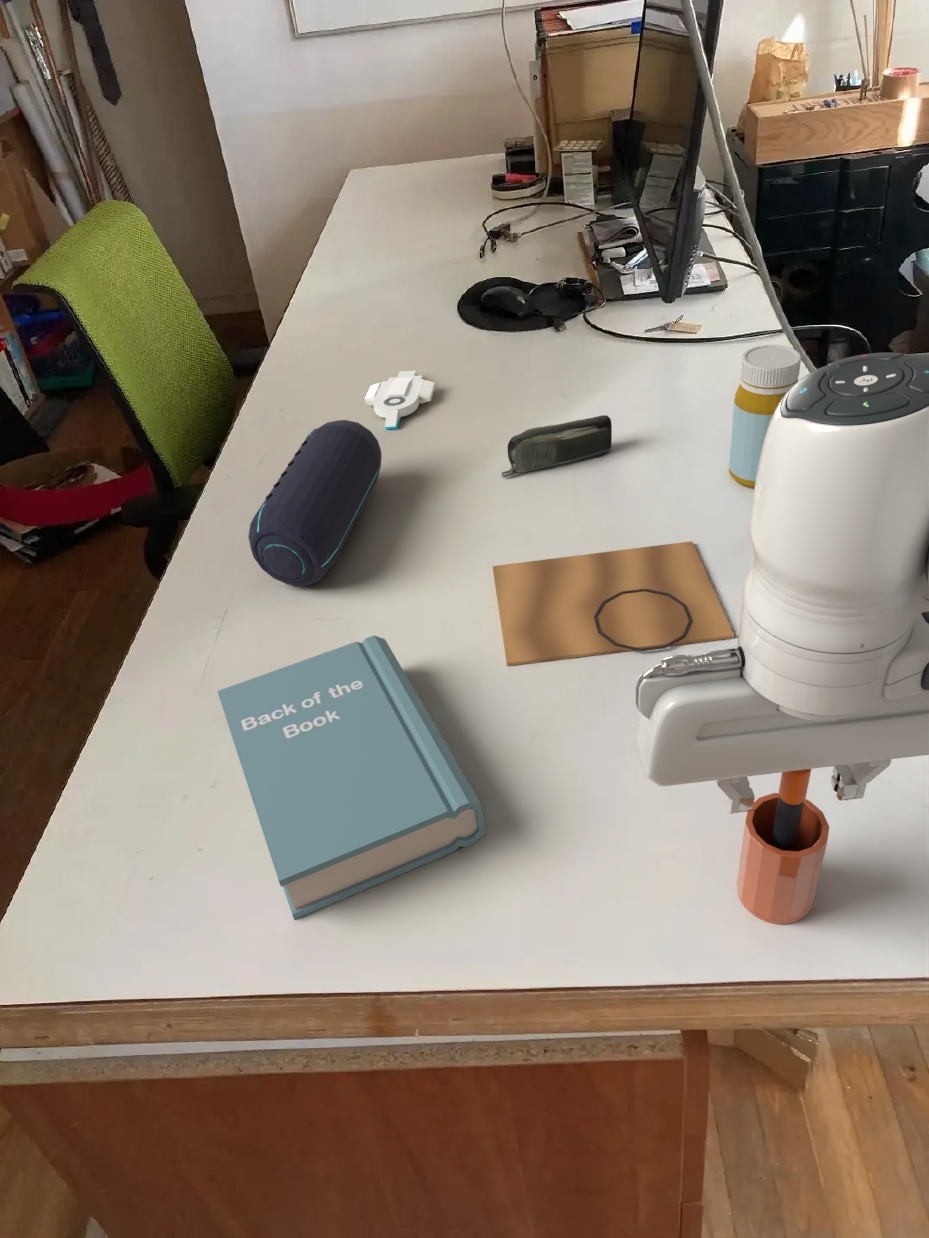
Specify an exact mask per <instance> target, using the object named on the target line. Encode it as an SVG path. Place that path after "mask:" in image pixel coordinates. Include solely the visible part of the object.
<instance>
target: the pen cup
mask: <svg viewBox="0 0 929 1238" xmlns="http://www.w3.org/2000/svg"><path fill="white" fill-rule="evenodd" d="M778 798H779V792H773V793H769V794H766V795H763V796H760V797H758V798H757V799H755V800H754V804H752V806H753V811H748V812H746V816H745V821H744V827H743V828H744V829H743V837H742V844H741V849H740V850H741V851H740V859H739V864H738V865H739V866H738V873H737V881H736V889H737V896H738V898H739V900H740V902H741V904H742V906H743V907H744V908H745V909H746V910H747V911H748V912H749V913H750V914H752V916H754V917H755V918H757V919H759V920H762V921H763V922H766V923H770V924H775V925H789V924H794V923H797V922H798V921H800V920H802V919H804V918H805V917H806V916H807V915H808V914H809V913H810V912H811V909H812V908H813V905H814V902H815V897H816V895H817V894H816V893H817V888H818V885H819V879H820V876H821V871H822V867H823V863H824V857H825V854H826V850H827V844H828V840H829V833H830V825H829V823H828V820H827V818H826V816H825V814H824V812H823V811H822V810H821V809H820V808H819V807H818V806H817V805H815V804H814V803H813V802H812V801H811V800H809V799H807V798H806V799H805V801H804V805H803V811H802V816H801V821H800V826H799V831H798V837H797V842H796V847H795V851H784V850H780V849H778V848H776V847H773V846H771V841H772V835H773V829H774V823H775V816H776V810H777V804H778Z"/></svg>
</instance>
